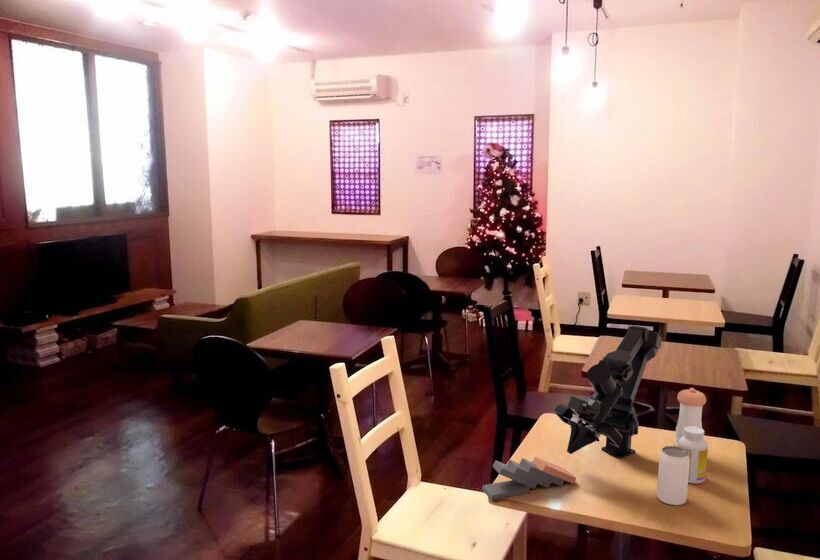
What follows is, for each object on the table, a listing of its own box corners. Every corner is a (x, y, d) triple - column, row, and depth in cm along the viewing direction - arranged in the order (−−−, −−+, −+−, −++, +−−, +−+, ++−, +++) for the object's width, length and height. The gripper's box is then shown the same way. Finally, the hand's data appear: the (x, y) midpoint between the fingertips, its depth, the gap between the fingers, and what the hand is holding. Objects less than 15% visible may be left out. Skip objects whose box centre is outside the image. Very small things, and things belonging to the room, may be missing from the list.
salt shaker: (667, 455, 174) (672, 387, 171) (681, 448, 179) (686, 382, 175) (693, 465, 169) (698, 395, 165) (707, 457, 173) (712, 389, 170)
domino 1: (529, 475, 161) (495, 460, 158) (537, 483, 156) (502, 468, 154) (526, 480, 161) (492, 466, 158) (534, 489, 156) (499, 474, 154)
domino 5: (565, 469, 164) (535, 456, 160) (576, 478, 159) (545, 465, 155) (562, 474, 164) (532, 462, 160) (573, 483, 159) (542, 471, 155)
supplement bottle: (703, 474, 164) (707, 426, 162) (706, 486, 158) (710, 436, 155) (675, 470, 166) (678, 422, 164) (676, 482, 160) (680, 433, 158)
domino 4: (554, 471, 162) (522, 457, 159) (564, 480, 158) (531, 466, 155) (551, 477, 162) (519, 463, 159) (561, 486, 158) (528, 472, 155)
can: (689, 507, 148) (693, 458, 146) (659, 504, 149) (662, 456, 147) (683, 493, 154) (686, 446, 152) (654, 491, 155) (657, 444, 153)
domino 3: (542, 473, 161) (509, 459, 159) (551, 482, 157) (517, 467, 154) (539, 479, 161) (506, 465, 159) (548, 487, 157) (514, 473, 154)
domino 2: (519, 478, 159) (482, 485, 156) (529, 488, 154) (491, 495, 151) (519, 484, 159) (482, 491, 156) (529, 494, 155) (491, 501, 151)
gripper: (559, 373, 168) (526, 423, 164) (617, 395, 152) (581, 450, 148) (580, 397, 173) (548, 445, 169) (637, 420, 158) (604, 473, 154)
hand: (568, 452), depth 160 cm, fingers closed
